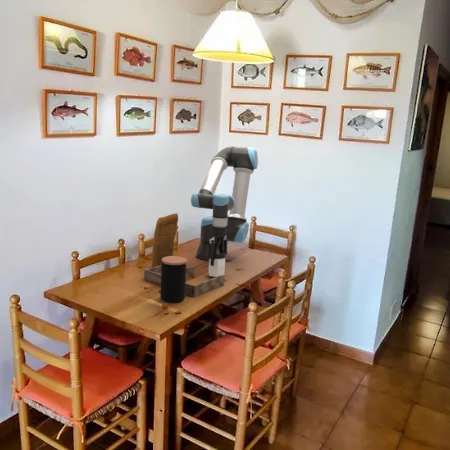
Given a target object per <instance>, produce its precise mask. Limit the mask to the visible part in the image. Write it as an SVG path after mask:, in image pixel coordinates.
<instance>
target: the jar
mask: <svg viewBox="0 0 450 450" xmlns="http://www.w3.org/2000/svg"><path fill="white" fill-rule="evenodd" d="M225 256H226V255H225V252H221V251H219V250H217V254H215V260H214V266H211V265H210V264H211V259H209V260H208V271H207V273H208V277H211V278H215V277H218V276H221V275H225V272H226V270H225V269H226V257H225Z"/></svg>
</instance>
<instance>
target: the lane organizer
mask: <svg viewBox="0 0 450 450" xmlns="http://www.w3.org/2000/svg"><path fill="white" fill-rule="evenodd" d="M161 266H162V265H160V266H156V267H153V268H152V267H149V268H146V269H144V270H143V271H144V272H143V280H144V281H147V282H149V283H152V284H155V285H159V286H160V287H161ZM194 275H195V266H194V265H190V266H186V279H188V278H191V277H193V276H194ZM194 277H195V276H194ZM223 286H225V274H224V275H221V276H218V277H211V278H210V279H206V280H204V281H202V282H199V283H196V284H192V283H189V282H186V283H185V296H189V297H192V298H195V297H197V296H200V295H203V294H205V293H208V292H210V291H213V290H216V289H219V288H221V287H223Z"/></svg>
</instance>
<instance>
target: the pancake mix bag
mask: <svg viewBox="0 0 450 450" xmlns="http://www.w3.org/2000/svg"><path fill="white" fill-rule="evenodd" d="M178 214H179V213H171V214H169V215H165V216H162V217H158V218H157V220H156V224H155V228H154V233H153V238H152V240H153V241H152V255H151V268H153V267H156V266H160V265H162V263H163V262H162V258H163V257H167V256H174V244H175V238H176V235H177V227H178V223H179V222H178V221H179V215H178Z"/></svg>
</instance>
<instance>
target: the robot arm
mask: <svg viewBox="0 0 450 450" xmlns="http://www.w3.org/2000/svg"><path fill="white" fill-rule="evenodd" d="M258 156H259V155H258V151H257V149H256V148H254V147H249V146H247V147H246V146H245V147H244V146H233V145H231V146H230V145H228V146H225V147H222V148H221V149H220V150H219V151H217V152H216V153H215V154H214V156H213V157H212V159H211V161H210V165H211V166H210V168H209V170H208V172H207V175H206V176H205V178H204V180H203V183H202V184H201V187H200V189H199V191H198V192H194V193H192V195H191V197H190V204H191V206H192V207H194V208H196V209H197V208H198V209H206V210H212V215H211V216H206V217H203V218H201V221H200V223H201V224H200V236H199V237H200V238H199V245H198V248H197V250H196V253H195V255H196V257H197V258H198V259H201V260H206V261H209V259H211V264H210V265H211V266H214V260H215V254H217V250H219V251H221V252H225V258H226V257H227V256H228V242H230V243H231V242H232V243H239V244H240V243H244V242H245V240H246V238H247V236H248V233H249V230H250V228H249V227H250V224H249V222H248V221H247V218H246V216H245V214H246V207H247V200H248V194H249V187H250V180H251V176H252V174H254V171H255V170H256V169H258V165H259V159H258ZM228 167H229V168H230V167H231V168H232V169H233V171H234V179H233V187H232V193H231V194H230V195H228V194H224V193H215V191H216V189H217V186H218V185H219V182H220V181H221V177H222V175H223V174H224V172H225V170H227V168H228Z"/></svg>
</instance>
